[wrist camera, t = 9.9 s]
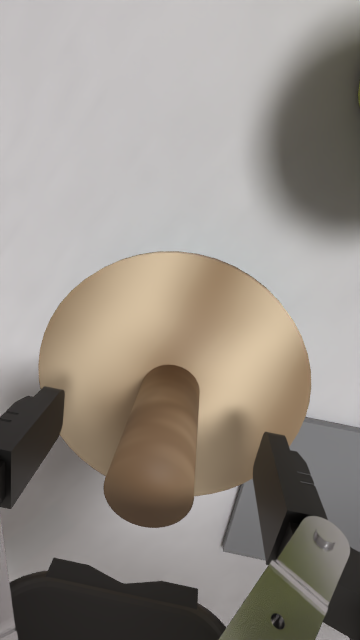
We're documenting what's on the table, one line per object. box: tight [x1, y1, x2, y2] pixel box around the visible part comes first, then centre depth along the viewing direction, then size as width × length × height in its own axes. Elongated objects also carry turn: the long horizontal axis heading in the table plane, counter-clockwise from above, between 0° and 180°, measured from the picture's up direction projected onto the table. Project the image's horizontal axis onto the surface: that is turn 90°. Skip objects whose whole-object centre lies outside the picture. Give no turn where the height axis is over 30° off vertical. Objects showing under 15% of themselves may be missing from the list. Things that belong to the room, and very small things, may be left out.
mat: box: [223, 417, 360, 560], centre depth 24 cm, size 13×13×1 cm
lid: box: [38, 251, 311, 528], centre depth 13 cm, size 13×13×7 cm
